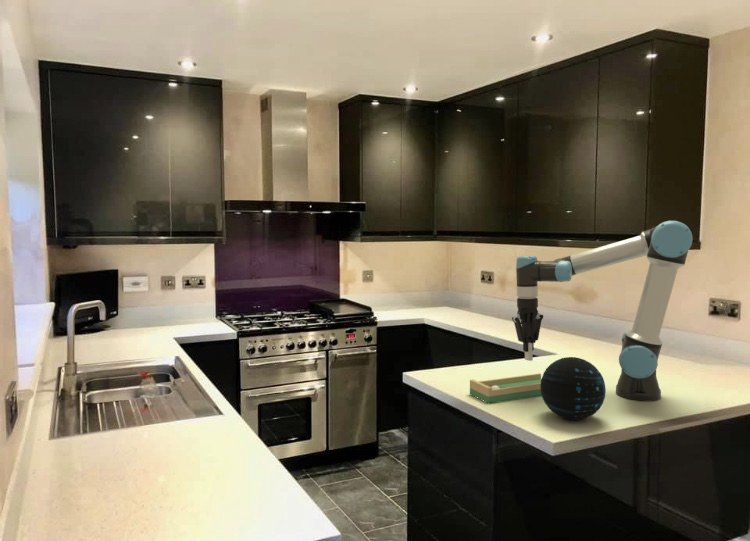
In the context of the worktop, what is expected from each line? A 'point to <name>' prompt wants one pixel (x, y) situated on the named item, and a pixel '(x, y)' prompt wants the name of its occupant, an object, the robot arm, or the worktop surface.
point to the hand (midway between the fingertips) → (528, 359)
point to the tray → (507, 388)
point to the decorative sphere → (573, 388)
